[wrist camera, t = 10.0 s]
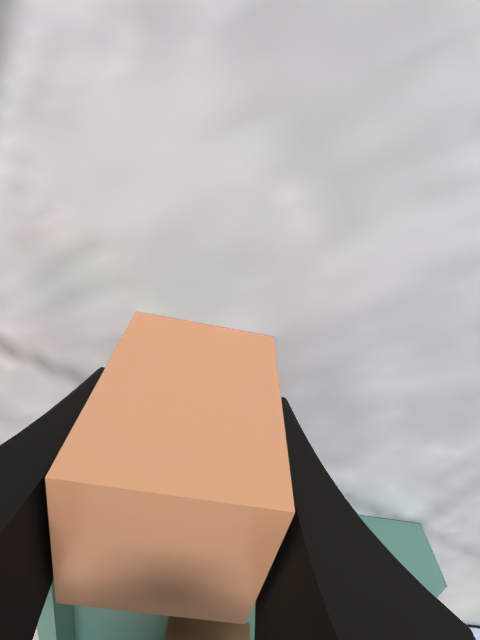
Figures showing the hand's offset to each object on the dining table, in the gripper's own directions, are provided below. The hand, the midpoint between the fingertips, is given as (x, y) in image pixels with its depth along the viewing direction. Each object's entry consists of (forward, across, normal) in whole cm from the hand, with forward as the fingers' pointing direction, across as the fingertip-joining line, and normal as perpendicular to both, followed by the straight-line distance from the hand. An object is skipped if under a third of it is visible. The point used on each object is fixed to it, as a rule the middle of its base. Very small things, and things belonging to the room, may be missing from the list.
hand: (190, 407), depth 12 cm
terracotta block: (+1, 0, 0) cm, 1 cm away
